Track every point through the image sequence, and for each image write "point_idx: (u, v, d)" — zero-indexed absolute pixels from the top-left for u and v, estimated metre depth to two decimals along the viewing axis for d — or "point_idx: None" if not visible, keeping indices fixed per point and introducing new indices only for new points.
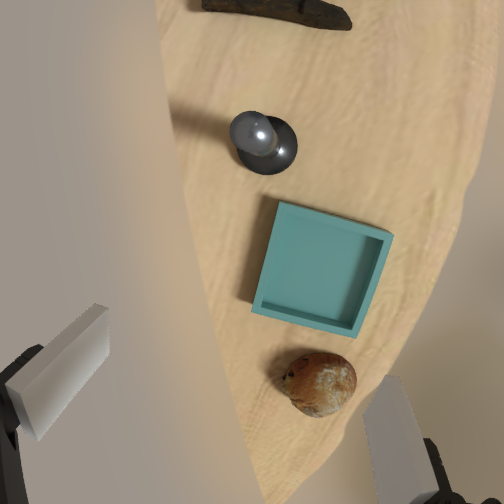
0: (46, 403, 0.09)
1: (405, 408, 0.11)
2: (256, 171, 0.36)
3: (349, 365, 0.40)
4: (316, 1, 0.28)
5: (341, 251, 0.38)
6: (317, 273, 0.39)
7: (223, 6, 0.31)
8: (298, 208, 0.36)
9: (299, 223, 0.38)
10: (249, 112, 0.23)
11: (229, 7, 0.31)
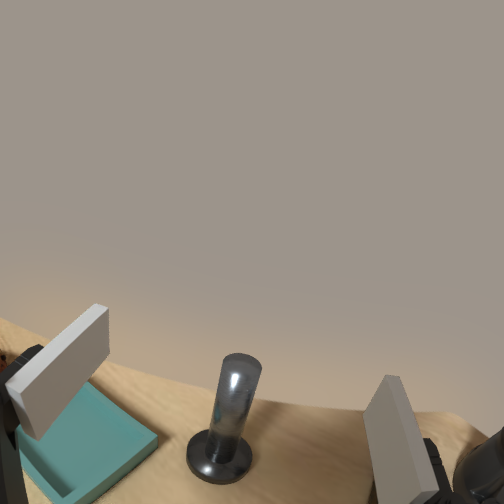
0: (46, 403, 0.09)
1: (405, 408, 0.11)
2: (196, 435, 0.31)
3: None
4: None
5: (76, 465, 0.23)
6: (68, 435, 0.26)
7: None
8: (143, 446, 0.26)
9: (126, 448, 0.27)
10: (260, 370, 0.25)
11: None
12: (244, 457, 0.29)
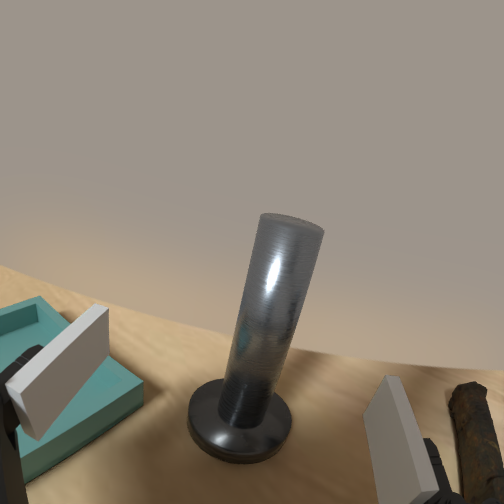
0: (46, 403, 0.09)
1: (405, 408, 0.11)
2: (204, 386, 0.21)
3: None
4: None
5: None
6: None
7: (462, 408, 0.21)
8: (117, 395, 0.17)
9: None
10: (321, 230, 0.15)
11: (462, 413, 0.20)
12: (279, 419, 0.19)
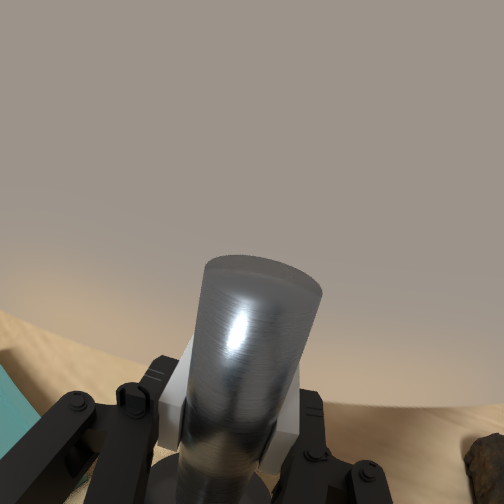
0: None
1: None
2: (160, 463, 0.14)
3: None
4: None
5: None
6: None
7: (482, 468, 0.14)
8: None
9: None
10: (317, 292, 0.08)
11: (483, 475, 0.13)
12: None
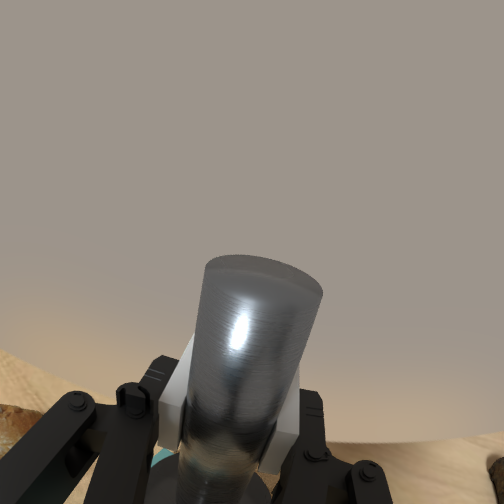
0: None
1: None
2: (160, 463, 0.14)
3: None
4: None
5: None
6: None
7: (501, 476, 0.21)
8: None
9: None
10: (318, 291, 0.08)
11: (502, 481, 0.20)
12: None
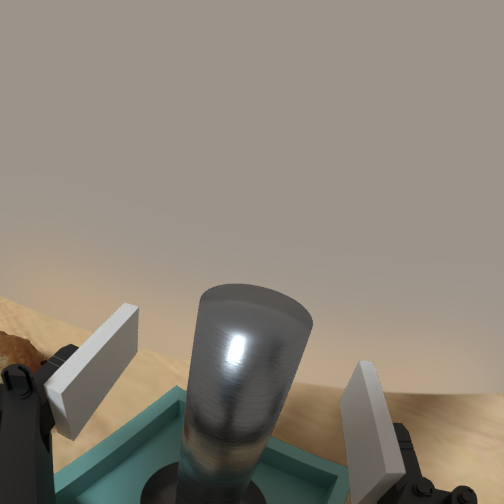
0: (82, 402, 0.10)
1: (376, 392, 0.12)
2: (160, 471, 0.14)
3: None
4: None
5: None
6: None
7: None
8: (345, 494, 0.14)
9: None
10: (308, 323, 0.09)
11: None
12: None
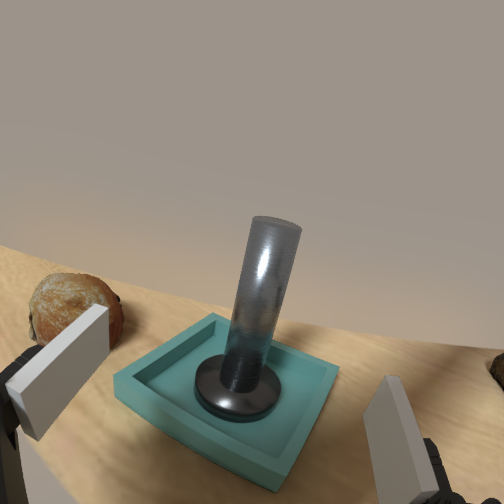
0: (46, 403, 0.09)
1: (405, 408, 0.11)
2: (207, 359, 0.26)
3: None
4: None
5: None
6: None
7: (503, 371, 0.30)
8: (332, 378, 0.26)
9: (304, 390, 0.27)
10: (300, 229, 0.20)
11: None
12: (271, 386, 0.24)
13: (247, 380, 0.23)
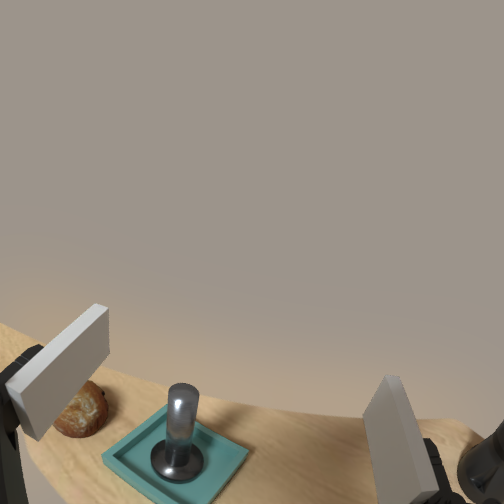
0: (46, 403, 0.09)
1: (405, 408, 0.11)
2: (159, 442, 0.36)
3: (80, 432, 0.33)
4: None
5: None
6: None
7: None
8: (240, 460, 0.36)
9: (223, 463, 0.36)
10: (197, 398, 0.30)
11: None
12: (197, 463, 0.34)
13: (179, 462, 0.32)
